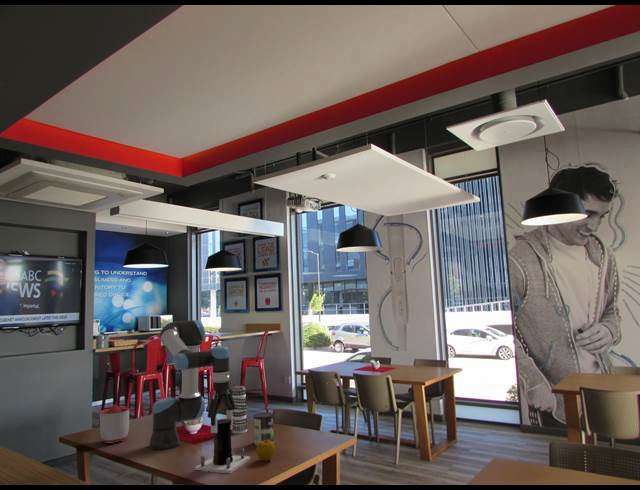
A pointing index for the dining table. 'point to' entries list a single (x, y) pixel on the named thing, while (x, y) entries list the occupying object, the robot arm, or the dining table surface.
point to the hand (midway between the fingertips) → (222, 428)
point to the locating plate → (226, 468)
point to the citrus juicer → (114, 424)
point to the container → (222, 442)
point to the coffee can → (263, 427)
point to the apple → (265, 450)
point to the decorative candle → (239, 410)
